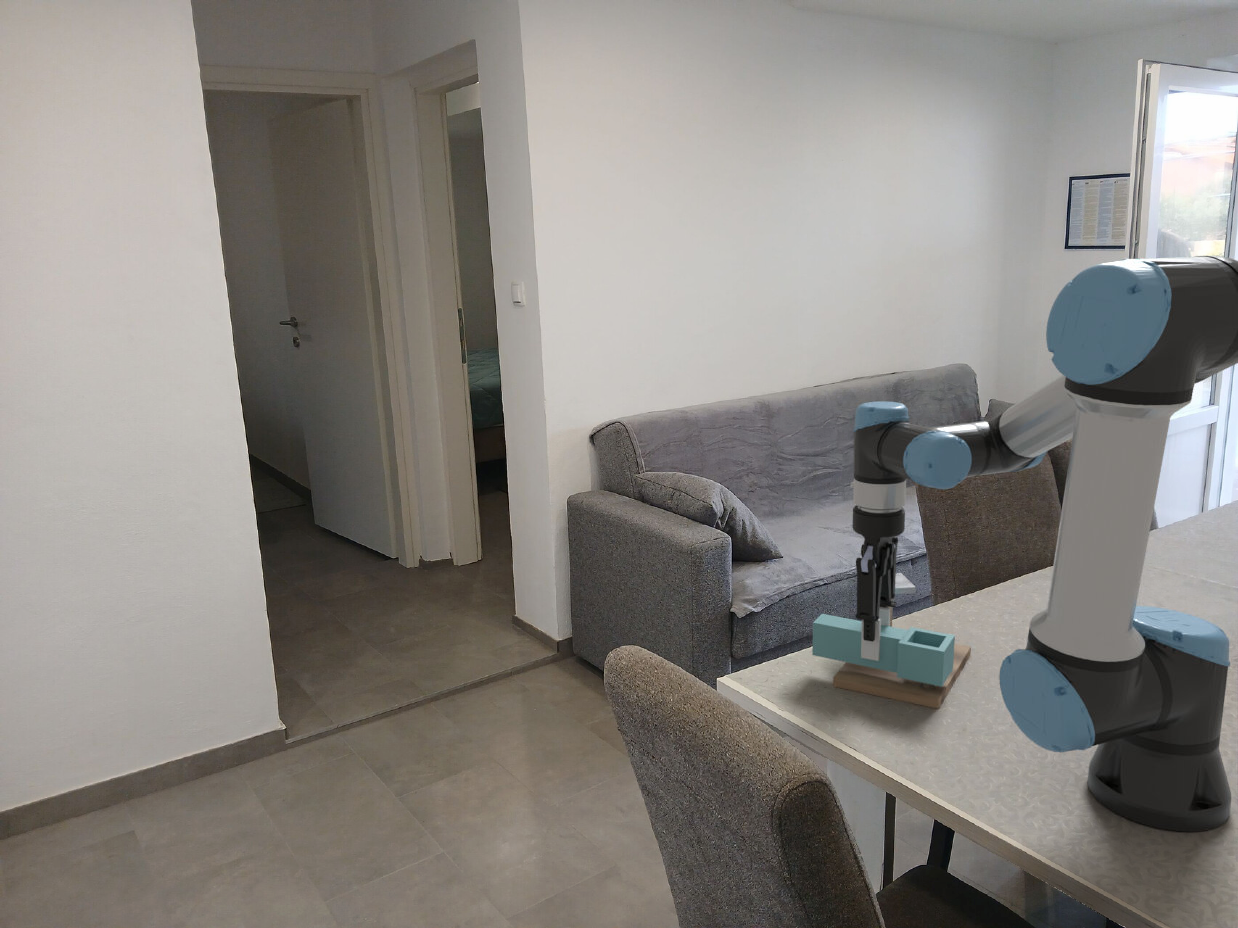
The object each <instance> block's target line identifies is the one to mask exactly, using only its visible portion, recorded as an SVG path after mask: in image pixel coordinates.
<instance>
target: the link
mask: <svg viewBox="0 0 1238 928" xmlns="http://www.w3.org/2000/svg"><path fill="white" fill-rule="evenodd" d="M861 632H862V620H859V619H851V618H845V617H841V616H837V615H832V614H831V615H830V614H826V613H821V614H820V615H819V616H818V617H817V618H816V619H815V620H814V621H813V622H812V649H811V650H812V653H811V654H812V656H815V657H821V658H824V659H830V660H834V661H838V662H843V663H846V662H847V663H852V664H857V665H862V666H866V667H871V668H876V669H880V670H885V671H890V672H894V673H897V677H899V678H904V679H909V680H913V681H918V682H923V683H927V684H932V685H937V686H941V687H942V686H943V685H944V683H945V681H946V680H947V678H948V676H949V675H950V673H951V671H952V670H953V661H954V644H956V643H955V640H956V635H955V634H950V633H944V632H941V631H940V632H938V631H935V630H928V629H924V628H923V629H922V628H918V627H912V626H910V627H909V628H908V629H904V628H900V627H893V626H892V627H890V626H884V625H881V638H880V660H879V661H876V660H871V659H866V658H861Z"/></svg>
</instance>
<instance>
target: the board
mask: <svg viewBox="0 0 1238 928" xmlns="http://www.w3.org/2000/svg"><path fill="white" fill-rule="evenodd" d="M971 651H972V646H969V645H963V644H957V643H954V661H953V670H952V671H951V673H950V675H949V676H948V678H947V680H946V681H945V683H944V685H943V686H942V687H941V686H937V685H935V688H934V689H931V690H928V689H923V688H921V687H920V682H918V681H913V680H909V679H904V678H899V677H897V673H894V672H890V671H885V670H880V669H876V668H871V667H866V666H862V665H857V664H852V663H847V662H844V664H843V665H842V666H841V668H840V669H839V670H838V671H837V672H836V673H835V675H834V676H832V687H833V688H834V687H835V688H838V689H839V688H840V689H844V690H849V691H853V692H858V693H862V694H867V695H872V696H877V697H881V698H886V699H890V700H895V701H900V702H905V703H909V704H914V705H920V706H923V707H929V708H933V709H936V710H937V709H938V710H939V709H940V707H941V705H942V704H943V703H944V700H945V698H946V697H947V695H948V694H949V692H950V691H951V689H952V687H953V686H954V684H955V682H956V680H957V679H958V677H959V675H960V673H961V672H962V670H963V669H964V667H965V666H966V663H967V662H968V660H969V659H970V657H971Z"/></svg>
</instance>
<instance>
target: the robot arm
mask: <svg viewBox="0 0 1238 928" xmlns="http://www.w3.org/2000/svg"><path fill="white" fill-rule="evenodd" d="M1045 335H1046V336H1045V337H1046V345H1047V346H1046V348H1047V351H1048V352H1050V353H1052V354H1053V356H1052V357H1051V361H1052V364H1053V365H1054V367H1055V369H1057V371H1058V372H1059V373H1060V374H1061V375H1060V376H1058V377H1057V378H1055V379H1053V380H1052V381H1050V382H1048V383H1047V384H1045V385H1044V386H1042V387H1041V388H1038V389H1037V390H1036V391H1034V392H1033V393H1031V394H1029V395H1028V396H1026V397H1024V398H1023V399H1021V400H1020V401H1018V402H1017V403H1014V404H1013V405H1012V406H1010V407H1009V408H1007V409H1006V410H1004V411H1002V412H1000V413H998V414H997V415H995V416H994V417H992V418H989V419H987V420H980V421H972V422H964V423H956V424H948V425H938V426H921V425H916V424H913V423H910V417H909V409H908V407H907V406H906V405H905V404H904V403H901V402H897V401H869V402H865V403H862V404H859V405H858V406H857V408H856V409H855V417H854V428H853V432H852V433H853V481H851V482H850V488H852V489H853V496H852V498H853V499H852V501H853V504H854V505H855V506H854V507H853V508H852V530H853V532H854V533H856V534H857V535H861V536H862V537H863V538H864V540H863V543H862V544H861V548H860V555H861V557H856V559H855V566H856V567H855V568H856V614H855V619H856V620H860V621H862V632H861V658H866V659H871V660H876V661H879V660H880V638H881V625H884V626H890V608H888V607H893V608H896V606H897V601H894V599H895V597H896V594H895V579H896V573H897V572H896V571H897V552H898V544H899V537H898V536H900V535H902V534H903V533H904V532H905V529H906V528H905V527H906V526H905V525H906V510H905V509H904V506H905V505H906V504H907V502H906V499H907V480H909V481H912V482H915V483H916V484H918V485H920V486H924V487H925V488H933V489H937V490H948V489H953V488H955V487H956V486H957V485H958V484H959V483H961V482H962V481H964V480H965V479H966V478H971V477H972V478H973V477H976V476H977V477H978V476H985V475H993V474H999V473H1002V474H1003V473H1015V472H1020V471H1023V470H1025V469H1031V468H1034V467H1035V466H1037V465H1039V464H1040V463H1041V462H1042V461H1043V460H1044V457H1045V456H1046V455H1047V452H1048V451H1050V450H1052V449H1053V448H1055V447H1057V446H1060V445H1061V444H1063V443H1065V442H1067V441H1070V440H1071V439H1072V441H1071V446H1070V453H1069V459H1068V467H1067V472H1066V479H1065V486H1064V493H1063V499H1062V500H1063V501H1062V505H1061V506H1062V507H1061V513H1060V518H1059V519H1060V520H1059V528H1058V533H1057V534H1058V535H1057V539H1056V547H1055V553H1054V560H1053V565H1052V573H1051V579H1050V586H1049V592H1048V599H1047V604H1046V605H1047V606H1046V607H1047V608H1046V609H1043V610H1042V611H1039V612H1038V613H1036V614H1034V615H1033V616H1032V618H1031V619H1030V622H1029V628H1028V634H1027V641H1026V646H1025V648H1017V649H1015V650H1014V651H1013V652H1012V653H1010V654H1009V655H1007V656H1006V657H1005V658H1004V659H1003V661H1002V663H1001V666H1000V670H999V677H998V678H999V688H1000V692H1001V697H1002V699H1003V702H1004V705H1005V707H1006V710H1007V711H1008V712H1009V714H1010V716H1011V719H1012V720H1013V722H1014V724H1016V726H1017V727H1018V729H1019V730H1020V731H1021V732H1022V733H1023V734H1024V735H1025V737H1027V738H1028V740H1030V741H1031V742H1033V743H1034V744H1036V745H1037V746H1039V747H1040V748H1042V749H1044V750H1046V751H1050V752H1054V753H1067V752H1073V751H1085V750H1088V749H1091V748H1092V747H1095V746H1097V747H1096V750H1095V751H1094V754H1093V755H1092V757H1091V760H1090V762H1089V764H1088V765H1089V766H1088V773H1087V774H1088V775H1087V786H1088V789H1089V791H1090V793H1091V794H1092V795H1093V797H1094V798H1095V799H1096V800H1097V801H1098V802H1099V803H1101V804H1102V805H1103V806H1104V807H1105V808H1107V809H1108V810H1111V811H1112V812H1114V813H1116V814H1117V815H1120V816H1121V817H1124V818H1125V819H1128V820H1130V821H1133V822H1136V823H1139V824H1142V825H1144V826H1145V825H1146V826H1148V827H1153V828H1157V829H1162V830H1166V831H1167V830H1168V831H1176V832H1202V831H1206V830H1207V831H1208V830H1211V829H1215V828H1217V827H1219V826H1221V825H1223V824H1224V823H1225V822H1226V821H1227V820H1228V819H1229V817H1230V813H1231V804H1232V791H1231V787H1230V783H1229V780H1228V777H1227V773H1226V770H1225V766H1224V762H1223V758H1222V755H1221V751H1220V741H1221V732H1222V723H1223V716H1224V707H1225V696H1226V688H1227V679H1228V671H1229V667H1231V662H1230V640H1229V637H1228V636H1227V634H1226V632H1225V631H1224V630H1223V629H1222V628H1220V626H1218V625H1216V624H1214V623H1212V622H1210V621H1208V620H1206V619H1204V618H1202V617H1198V616H1196V615H1192V614H1190V613H1186V612H1183V611H1177V610H1173V609H1169V608H1164V607H1157V606H1147V605H1145V606H1144V605H1137V603H1138V598H1139V591H1140V586H1141V580H1142V575H1143V570H1144V564H1145V559H1146V553H1147V549H1148V542H1149V536H1150V531H1151V525H1152V520H1153V514H1154V509H1155V505H1156V498H1157V494H1158V493H1157V492H1158V487H1159V482H1160V477H1161V471H1162V466H1163V465H1162V464H1163V459H1164V454H1165V450H1166V443H1167V437H1168V432H1169V427H1170V420H1171V417H1172V416H1173V415H1174V414H1175V413H1177V412H1178V411H1181V410H1182V409H1183V408H1185V407H1186V406H1188V405H1189V404H1191V402H1192V399H1193V393H1194V388H1195V384H1198V383H1201V382H1202V381H1205V380H1207V379H1209V378H1210V377H1213V376H1214V375H1217V374H1218V373H1221V372H1222V371H1224V370H1226V369H1228V368H1230V367H1232V366H1235V365H1237V364H1238V260H1236V259H1235V258H1231V257H1225V256H1219V255H1196V256H1183V257H1161V258H1160V257H1159V258H1158V257H1155V258H1154V257H1153V258H1124V259H1120V260H1116V261H1112V262H1103V263H1099V264H1095V265H1092V266H1090V267H1087V268H1085V269H1083V270H1082V271H1080V272H1079V273H1078V274H1077V275H1075V276H1074V278H1072V279H1071V280H1069V281H1068V282H1067V283H1066V284H1065V285H1064V286H1063V288H1062V289H1061V290H1060V292H1059V293H1058V294H1057V295H1056V298H1055V300H1054V301H1053V303H1052V306H1051V309H1050V312H1049V314H1048V319H1047V323H1046V334H1045ZM891 599H893V601H892V600H891Z"/></svg>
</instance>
